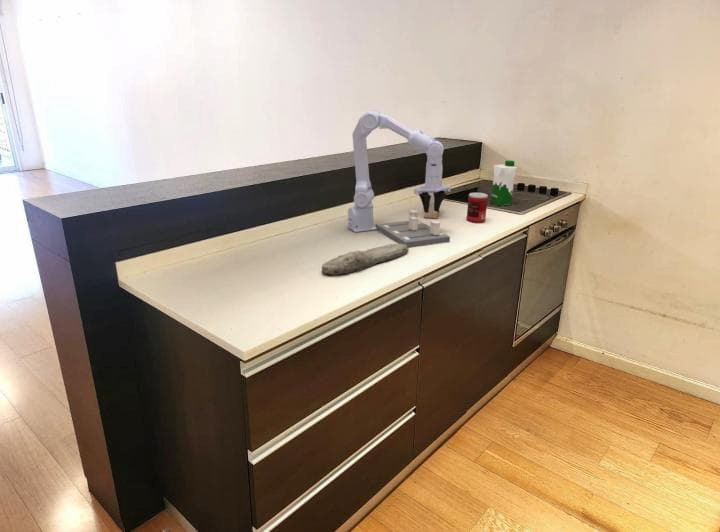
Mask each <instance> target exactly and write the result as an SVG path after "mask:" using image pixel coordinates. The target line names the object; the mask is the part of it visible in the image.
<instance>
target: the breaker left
mask: <svg viewBox="0 0 720 532" xmlns="http://www.w3.org/2000/svg"><path fill="white" fill-rule="evenodd" d="M408 213H409V214H408V218H409V217H413V216H414V217H416V218H418V214H419V211H417V210H414V209H412V210H409V211H408Z"/></svg>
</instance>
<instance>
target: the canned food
mask: <svg viewBox="0 0 720 532" xmlns="http://www.w3.org/2000/svg"><path fill="white" fill-rule="evenodd" d="M488 198H489V196H488V194H486V193H484V192H470V193H468V199H467V201H468V202H467V209H466V210H467V212H466V221H467V222H470V223H472V224H473V223H474V224H483V223H484V222H485V221H486V218H487V208H488V200H489V199H488Z"/></svg>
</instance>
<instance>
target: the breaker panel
mask: <svg viewBox="0 0 720 532" xmlns="http://www.w3.org/2000/svg"><path fill="white" fill-rule="evenodd" d="M375 227H376V228H377V230H376V231H378V232H380V233H381V234H383V235H385V236H386V237H388V238H389V239H390V240H392V241H394V242H395V243H396V244H406V245H407V248H408V249H409V248H415V247H423V246H429V245H437V244H445V243H450V241H451V240H450V239H451V236H450V235H448V234H445V233H444V232H442V231H440V230H439V235H433V234H431V233H430V227H431V225H428V224H426V223H424V222H422V221H420V220H418V226H417V230H411V229H409V220H404V221H403V220H402V221H393V222H386V223H378V224H375Z"/></svg>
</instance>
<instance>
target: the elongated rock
mask: <svg viewBox="0 0 720 532" xmlns="http://www.w3.org/2000/svg"><path fill="white" fill-rule="evenodd" d="M409 251H410V250H409V248H407V245H406V244H399V243H389V244H384V245H382V246H377V247H374V248H370V249H367V250H355V251H349V252H347V253H345V254H341V255H338V257H335V258H332V259H330V260H328V261H325V262H324V263H323V264H322V265H321V271H322V272H323V273H324V274H328V275H332V276H335V275H340V274H349V273H353V272H356V271H357V272H360V271H361V270H364V269H366V268H369V267H371V266H375V265H376V264H377V263H385V262H386V261H388V260H391V259H393V260H394V259H396V258H400V257H402V256H404V255H406V254H407V253H409Z"/></svg>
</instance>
